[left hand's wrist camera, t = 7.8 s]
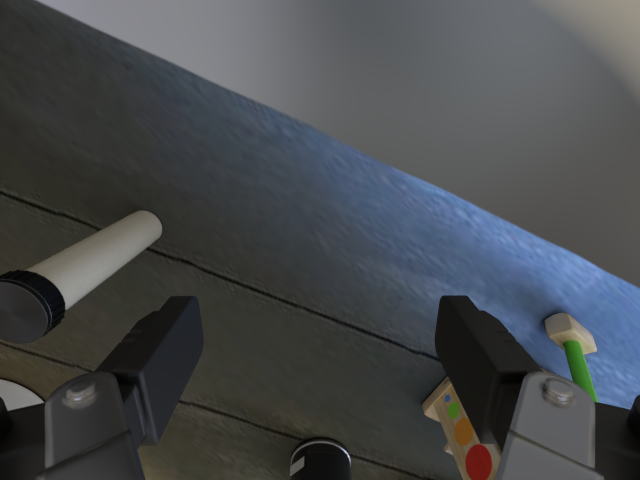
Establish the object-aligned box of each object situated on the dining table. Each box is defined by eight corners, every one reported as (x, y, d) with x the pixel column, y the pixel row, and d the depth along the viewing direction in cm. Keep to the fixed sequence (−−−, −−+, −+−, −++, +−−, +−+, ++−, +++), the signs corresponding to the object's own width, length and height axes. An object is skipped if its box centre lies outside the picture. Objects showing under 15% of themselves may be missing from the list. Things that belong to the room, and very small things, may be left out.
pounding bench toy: (526, 286, 44) (656, 395, 27) (606, 335, 46) (770, 461, 29) (419, 406, 50) (468, 552, 34) (493, 442, 53) (574, 595, 36)
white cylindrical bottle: (137, 246, 42) (7, 341, 25) (121, 215, 41) (-29, 292, 23) (168, 237, 42) (58, 327, 24) (153, 206, 40) (25, 276, 23)
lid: (21, 336, 26) (0, 351, 24) (-19, 279, 24) (-45, 291, 23) (79, 320, 26) (62, 335, 24) (42, 261, 24) (21, 272, 22)
